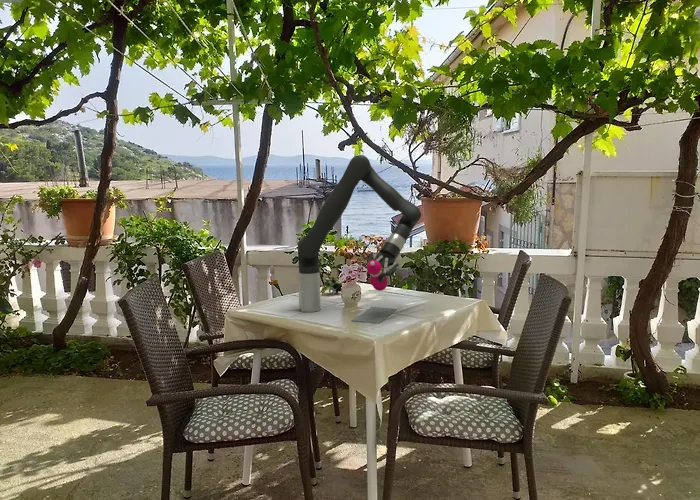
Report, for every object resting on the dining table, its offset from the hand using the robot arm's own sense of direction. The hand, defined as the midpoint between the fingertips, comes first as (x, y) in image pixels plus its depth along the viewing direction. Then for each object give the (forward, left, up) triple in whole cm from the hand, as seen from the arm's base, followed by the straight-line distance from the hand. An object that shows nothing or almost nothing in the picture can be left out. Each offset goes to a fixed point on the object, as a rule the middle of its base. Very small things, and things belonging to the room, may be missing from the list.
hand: (373, 278), depth 212 cm
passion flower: (-3, +51, -17) cm, 54 cm away
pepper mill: (+6, +8, -4) cm, 11 cm away
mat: (+3, +6, -17) cm, 18 cm away
